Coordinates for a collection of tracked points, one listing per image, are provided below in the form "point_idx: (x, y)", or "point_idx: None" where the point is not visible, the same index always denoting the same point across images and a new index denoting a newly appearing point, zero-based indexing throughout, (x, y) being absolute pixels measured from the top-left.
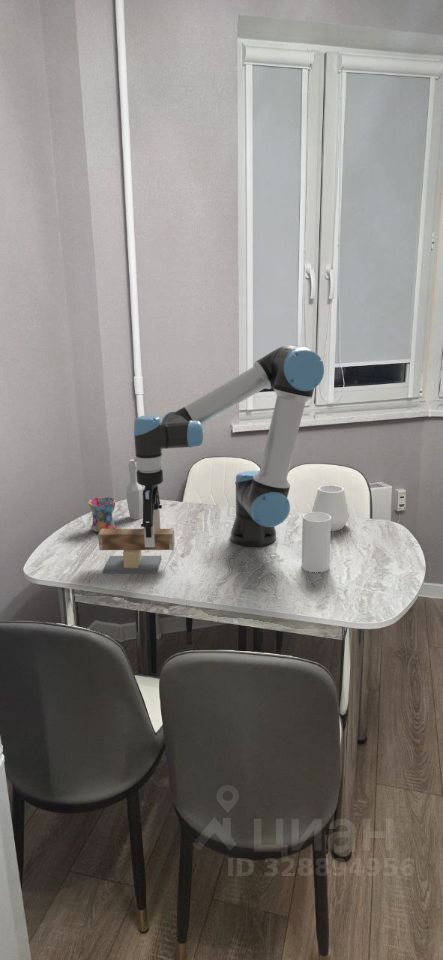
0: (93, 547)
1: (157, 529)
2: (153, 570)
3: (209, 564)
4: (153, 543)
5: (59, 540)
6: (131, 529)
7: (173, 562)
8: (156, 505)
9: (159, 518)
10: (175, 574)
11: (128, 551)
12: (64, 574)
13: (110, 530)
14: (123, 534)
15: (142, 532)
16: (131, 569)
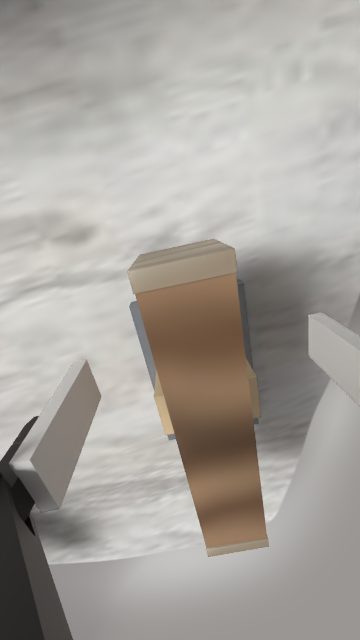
0: (107, 488)
1: (167, 364)
2: (243, 293)
3: (126, 82)
4: (333, 323)
5: (94, 552)
6: (194, 471)
7: (145, 252)
8: (20, 524)
9: (60, 405)
10: (242, 212)
11: (251, 404)
12: (267, 480)
13: (219, 528)
14: (259, 478)
15: (226, 418)
16: (251, 358)
